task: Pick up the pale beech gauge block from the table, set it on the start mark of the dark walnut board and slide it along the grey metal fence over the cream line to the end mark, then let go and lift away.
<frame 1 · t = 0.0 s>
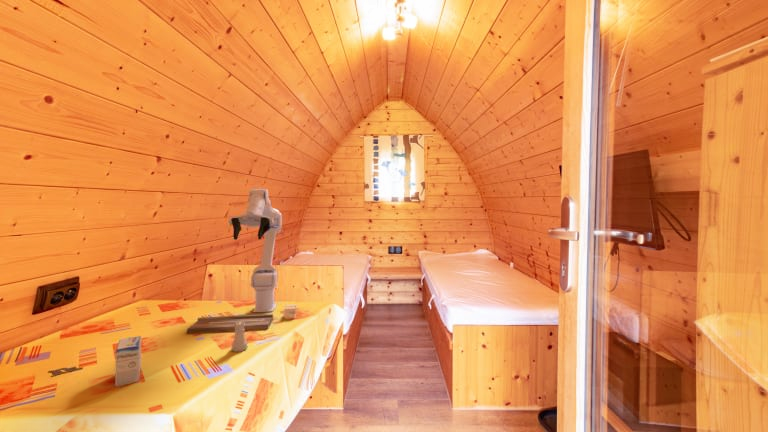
hand: (247, 237, 106), 32 cm above the table, tool tilted 50°, fingers open, 7 cm apart
rook chess piece: (239, 349, 94), on the table
medicine box: (128, 378, 77), on the table
walnut board: (232, 326, 113), on the table
gauge block: (290, 316, 124), on the table
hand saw: (109, 362, 86), on the table
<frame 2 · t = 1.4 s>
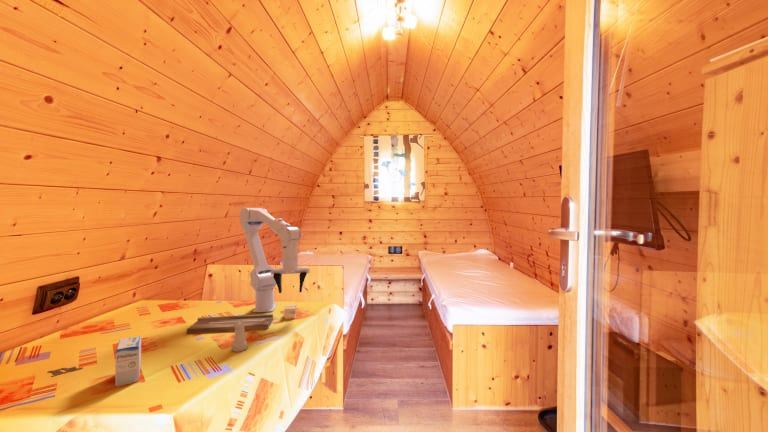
hand: (290, 292, 124), 10 cm above the table, tool pointing down, fingers open, 7 cm apart
nothing on the table moved.
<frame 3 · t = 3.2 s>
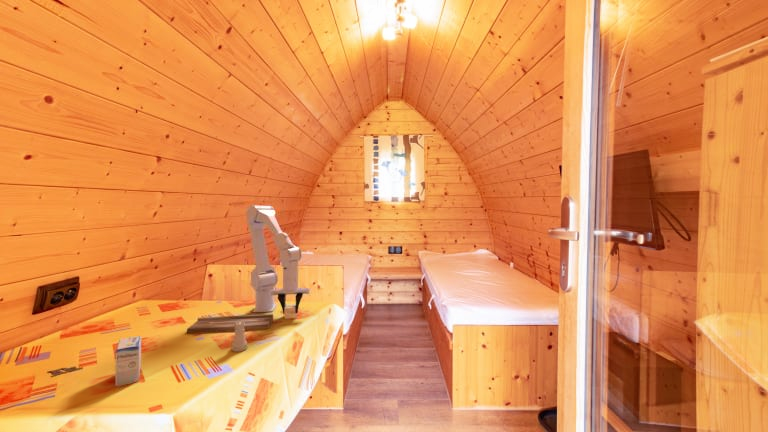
hand: (290, 312, 124), 1 cm above the table, tool pointing down, fingers closed on gauge block, 4 cm apart
gauge block: (290, 316, 124), on the table, touching gripper
everything else where it was.
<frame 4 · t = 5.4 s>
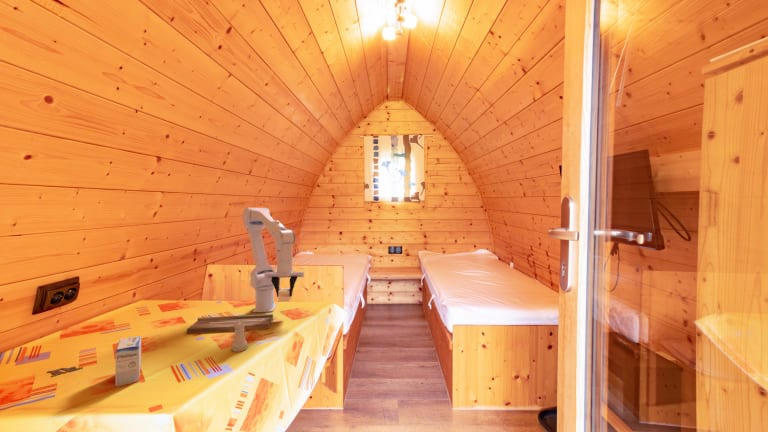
hand: (284, 296, 122), 8 cm above the table, tool pointing down, fingers closed on gauge block, 4 cm apart
gauge block: (284, 300, 122), point 7 cm above the table, touching gripper
everything else where it was.
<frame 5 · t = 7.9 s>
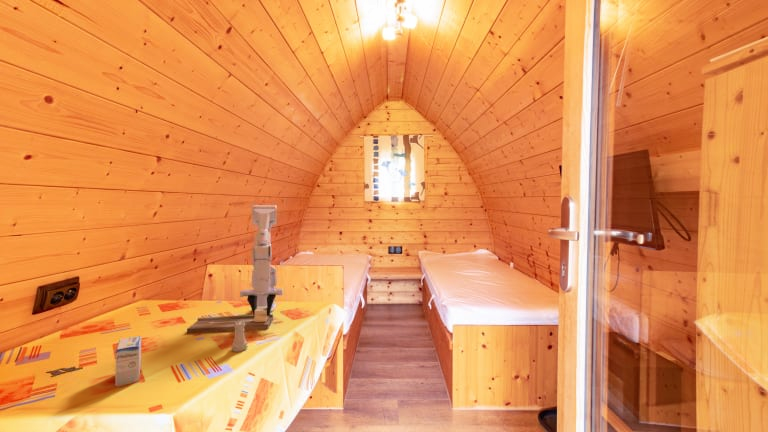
hand: (261, 315, 115), 3 cm above the table, tool pointing down, fingers closed on gauge block, 4 cm apart
gauge block: (261, 319, 115), point 2 cm above the table, touching gripper
everything else where it was.
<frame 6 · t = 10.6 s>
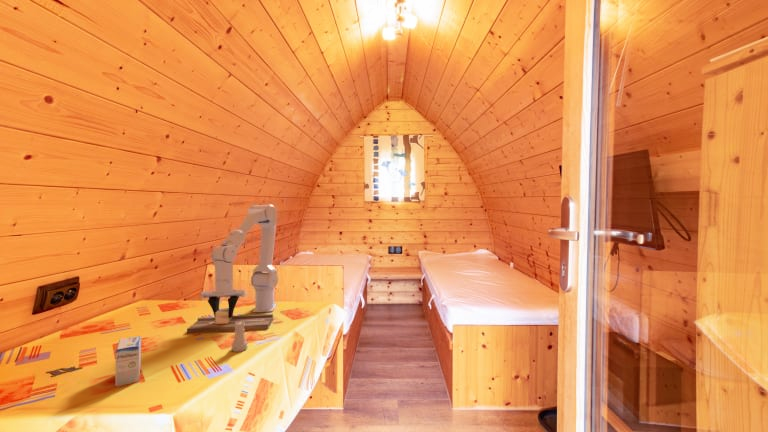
hand: (223, 317, 113), 3 cm above the table, tool pointing down, fingers closed on gauge block, 4 cm apart
gauge block: (223, 321, 113), point 2 cm above the table, touching gripper
everything else where it was.
when the fingers open (3 cm above the table, at t = 12.9 s): gauge block stays where it is, resting on walnut board.
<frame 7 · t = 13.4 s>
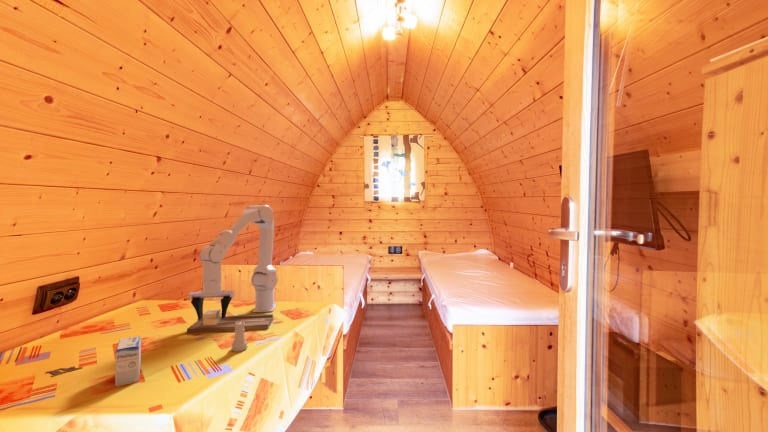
hand: (212, 317, 112), 3 cm above the table, tool pointing down, fingers open, 7 cm apart
gauge block: (212, 322, 112), point 2 cm above the table, touching walnut board
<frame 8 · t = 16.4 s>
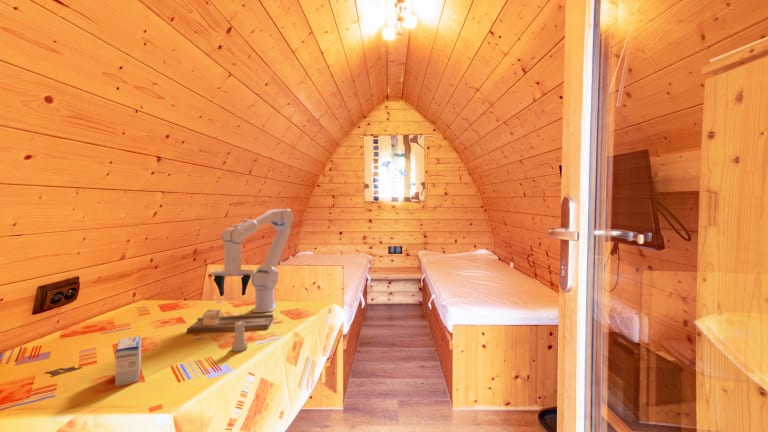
hand: (232, 295, 120), 9 cm above the table, tool pointing down, fingers open, 7 cm apart
at the end: gauge block 0.1 cm from the target spot, point 1.5 cm above the table; gauge block tilted 0°; the gripper is holding nothing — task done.
